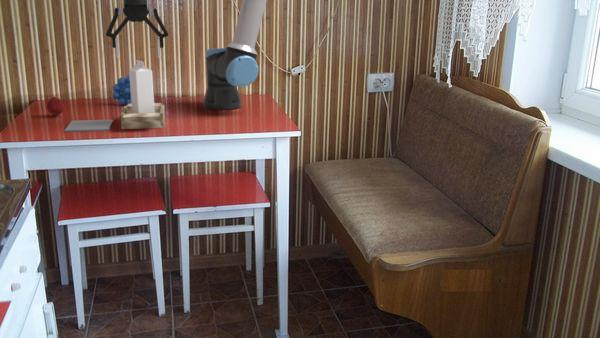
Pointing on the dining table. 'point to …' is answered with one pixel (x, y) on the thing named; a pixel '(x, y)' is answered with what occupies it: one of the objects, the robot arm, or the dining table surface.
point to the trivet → (89, 125)
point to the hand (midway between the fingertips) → (139, 57)
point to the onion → (55, 106)
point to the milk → (141, 89)
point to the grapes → (122, 91)
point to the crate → (143, 118)
